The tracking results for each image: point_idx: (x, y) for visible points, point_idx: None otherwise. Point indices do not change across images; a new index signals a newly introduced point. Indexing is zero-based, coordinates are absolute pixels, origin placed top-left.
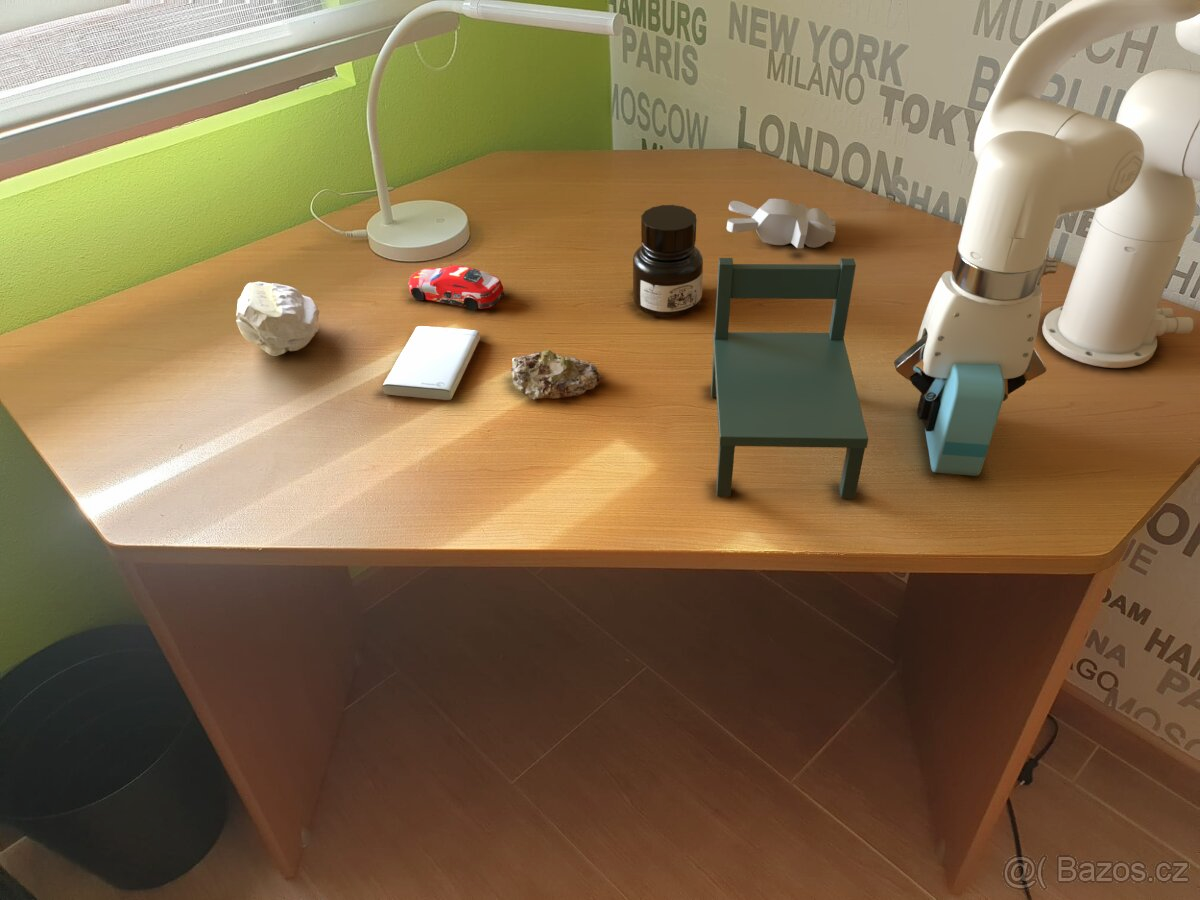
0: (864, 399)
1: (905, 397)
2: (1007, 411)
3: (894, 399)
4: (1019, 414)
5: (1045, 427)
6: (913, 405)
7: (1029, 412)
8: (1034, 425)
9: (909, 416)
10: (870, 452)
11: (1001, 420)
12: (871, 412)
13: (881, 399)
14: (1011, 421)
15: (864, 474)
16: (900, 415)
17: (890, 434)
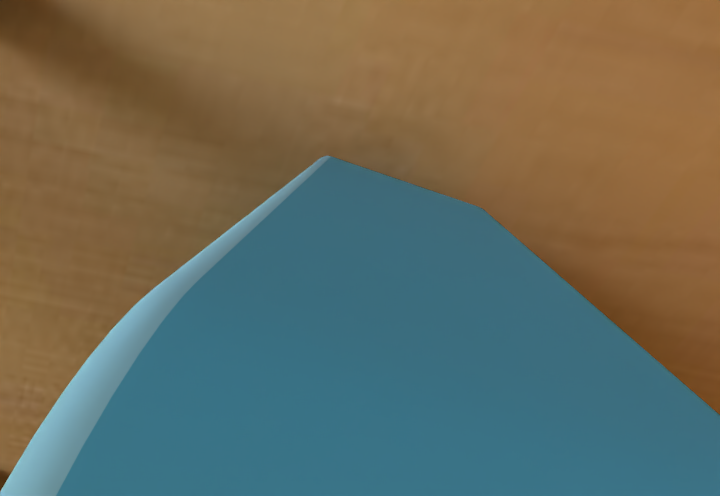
0: (119, 45)
1: (291, 68)
2: (635, 237)
3: (242, 72)
4: (666, 262)
5: (702, 342)
6: (304, 128)
7: (709, 259)
8: (674, 326)
9: (264, 190)
10: (76, 338)
11: (581, 279)
12: (128, 137)
13: (189, 61)
14: (611, 291)
15: (39, 419)
16: (232, 177)
17: (164, 270)
